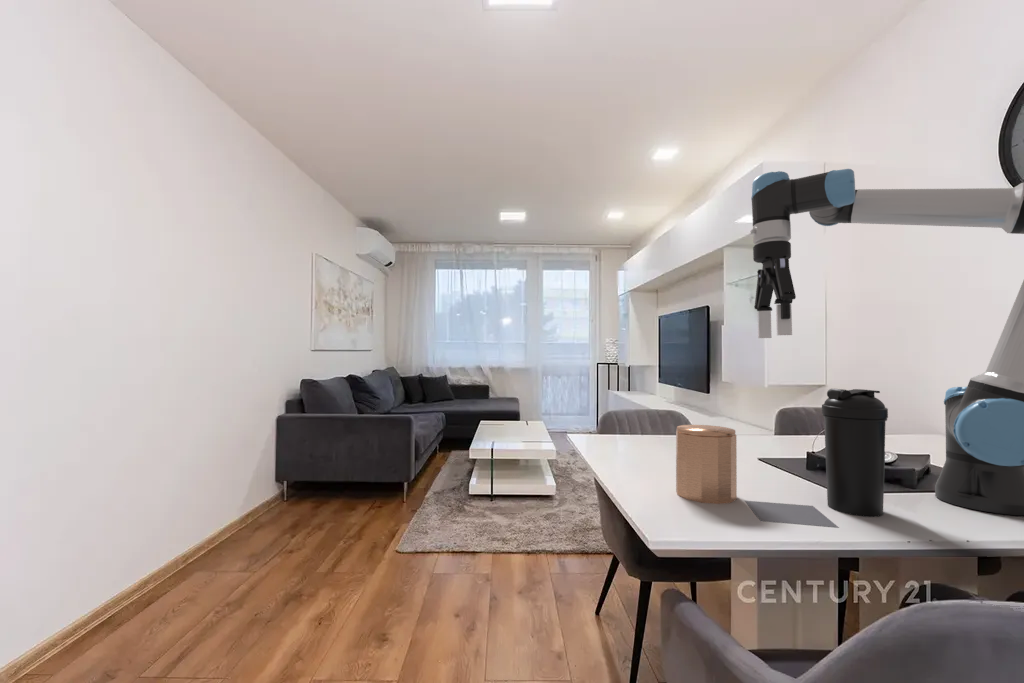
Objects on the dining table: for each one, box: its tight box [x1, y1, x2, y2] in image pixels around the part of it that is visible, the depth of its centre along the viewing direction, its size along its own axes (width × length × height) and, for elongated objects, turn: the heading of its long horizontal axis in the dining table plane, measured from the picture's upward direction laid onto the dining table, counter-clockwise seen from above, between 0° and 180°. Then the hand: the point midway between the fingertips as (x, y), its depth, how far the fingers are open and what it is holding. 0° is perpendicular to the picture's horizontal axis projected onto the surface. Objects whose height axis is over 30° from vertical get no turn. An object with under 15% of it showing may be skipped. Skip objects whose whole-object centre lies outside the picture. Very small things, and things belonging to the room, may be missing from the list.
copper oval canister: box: [675, 424, 738, 505], centre depth 99 cm, size 11×11×14 cm
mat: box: [744, 500, 840, 529], centre depth 88 cm, size 12×12×1 cm
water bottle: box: [821, 388, 889, 518], centre depth 91 cm, size 10×10×23 cm
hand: (774, 336), depth 108 cm, fingers open, 13 cm apart
